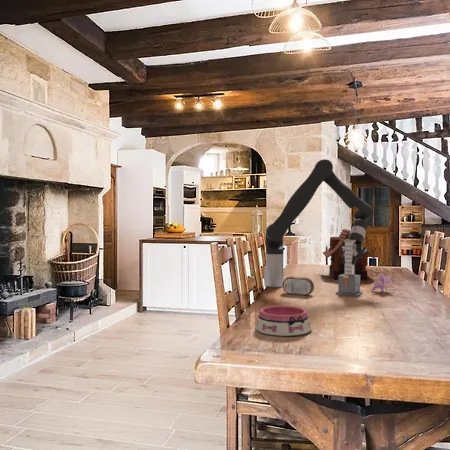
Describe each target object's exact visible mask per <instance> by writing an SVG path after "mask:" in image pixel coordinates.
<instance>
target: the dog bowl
mask: <svg viewBox="0 0 450 450" xmlns="http://www.w3.org/2000/svg"><path fill="white" fill-rule="evenodd" d="M311 327H312V326H311V324H310V320H309V315H308V312H307V310H306V309H305V308H302V307H298V306H292V305H291V306H290V305H271V306H265V307H263V308H261V309H260V310H259V313H258V318H257V322H256V326H255V331H256V332H257V333H258V334H261V335H263V336H264V335H265V336H268V337H270V336H271V337H277V338H298V337H303V336H308V335H309V334H311V333H312V328H311Z"/></svg>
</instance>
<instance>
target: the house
mask: <svg viewBox="0 0 450 450" xmlns="http://www.w3.org/2000/svg"><path fill="white" fill-rule="evenodd" d="M350 231H351V229H346V228H343V229H341V232H340V234H339V236H330V237H329V248H327V249H326V250H325V251H323V252H322V255H324V257H325V258H326V259H328V258H329V260H330V265H329V275H330V276H331V278H332V279H333V280H335V281H336V280H337V281H338V280H339V275H342V274H345V264H343V262H342V259H343V258H342V257H341V254H340V249H339V246H345V242H344V240H347V239H348V237H349V234H350ZM360 251H361V250H360ZM360 251H359V252H360ZM359 252H358V253H359ZM344 253H345V249H344V251H343V254H344ZM368 256H369V257H370V258H372V259H374V260H375V259H376V256H374V255H372V254H371V253H370V252H368V251H367V252H366V253H365V254H364V255H363V257H362V258H361V259H359V258H357V260H356V263H355V264H354V275H360V281H368V270H367V265H368V263H367V259H368Z"/></svg>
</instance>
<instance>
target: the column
mask: <svg viewBox="0 0 450 450" xmlns="http://www.w3.org/2000/svg"><path fill="white" fill-rule="evenodd" d="M344 242H345V275H347V276H354V265H352V263H351V262H352V259H353V256H354V251H355V242H356V240H348V239H347V240H344Z"/></svg>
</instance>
